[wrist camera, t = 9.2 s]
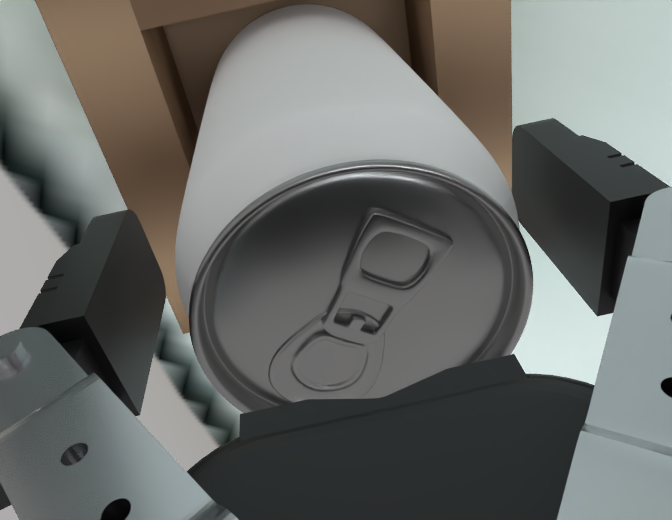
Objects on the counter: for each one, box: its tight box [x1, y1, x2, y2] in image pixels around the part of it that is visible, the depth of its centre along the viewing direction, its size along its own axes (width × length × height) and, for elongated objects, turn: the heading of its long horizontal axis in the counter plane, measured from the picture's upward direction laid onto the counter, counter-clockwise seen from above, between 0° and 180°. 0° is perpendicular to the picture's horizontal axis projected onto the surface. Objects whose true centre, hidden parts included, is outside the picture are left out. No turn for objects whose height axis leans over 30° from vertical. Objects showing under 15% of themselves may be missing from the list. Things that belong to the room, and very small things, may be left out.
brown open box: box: [35, 0, 512, 334], centre depth 18 cm, size 12×12×4 cm
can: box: [175, 4, 533, 413], centre depth 14 cm, size 6×6×12 cm
